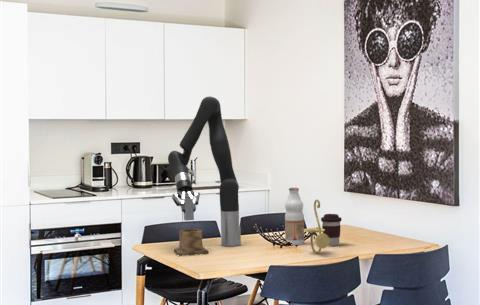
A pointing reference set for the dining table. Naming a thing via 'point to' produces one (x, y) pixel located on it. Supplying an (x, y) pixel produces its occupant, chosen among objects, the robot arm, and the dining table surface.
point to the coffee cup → (332, 228)
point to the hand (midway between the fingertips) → (189, 211)
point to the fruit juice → (294, 218)
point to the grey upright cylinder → (188, 209)
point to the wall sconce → (322, 238)
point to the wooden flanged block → (190, 243)
